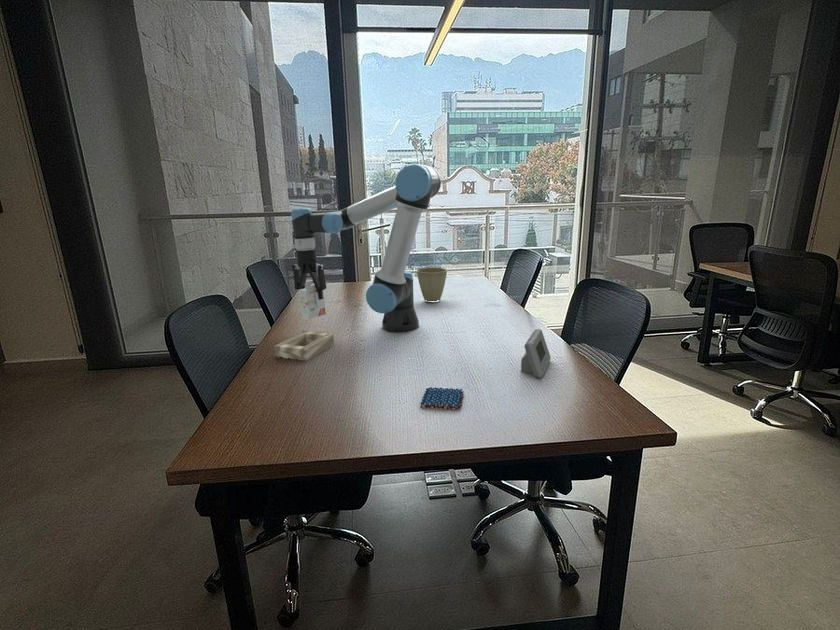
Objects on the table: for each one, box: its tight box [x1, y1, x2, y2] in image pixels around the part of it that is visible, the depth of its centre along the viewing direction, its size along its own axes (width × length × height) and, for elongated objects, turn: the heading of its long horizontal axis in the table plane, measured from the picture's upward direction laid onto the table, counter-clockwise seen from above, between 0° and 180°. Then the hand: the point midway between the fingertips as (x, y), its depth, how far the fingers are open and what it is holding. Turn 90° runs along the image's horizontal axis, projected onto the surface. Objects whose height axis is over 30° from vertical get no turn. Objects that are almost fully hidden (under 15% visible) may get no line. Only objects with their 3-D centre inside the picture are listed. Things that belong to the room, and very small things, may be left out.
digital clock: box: [520, 328, 552, 379], centre depth 132 cm, size 16×9×11 cm, turn 143°
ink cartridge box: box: [298, 280, 327, 320], centre depth 173 cm, size 9×5×15 cm, turn 143°
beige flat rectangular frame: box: [274, 330, 335, 362], centre depth 155 cm, size 13×17×4 cm
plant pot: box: [416, 267, 448, 301], centre depth 216 cm, size 15×15×16 cm
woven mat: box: [420, 386, 465, 411], centre depth 115 cm, size 10×11×2 cm
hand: (312, 306), depth 174 cm, fingers closed on ink cartridge box, 6 cm apart
